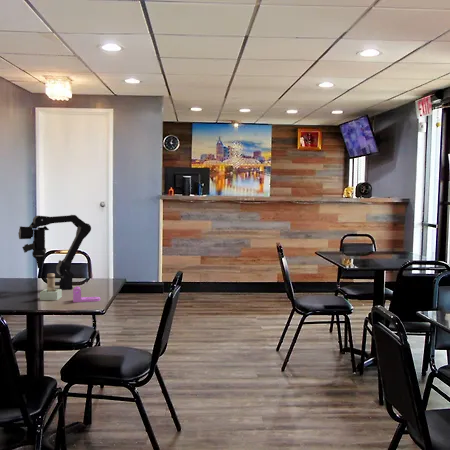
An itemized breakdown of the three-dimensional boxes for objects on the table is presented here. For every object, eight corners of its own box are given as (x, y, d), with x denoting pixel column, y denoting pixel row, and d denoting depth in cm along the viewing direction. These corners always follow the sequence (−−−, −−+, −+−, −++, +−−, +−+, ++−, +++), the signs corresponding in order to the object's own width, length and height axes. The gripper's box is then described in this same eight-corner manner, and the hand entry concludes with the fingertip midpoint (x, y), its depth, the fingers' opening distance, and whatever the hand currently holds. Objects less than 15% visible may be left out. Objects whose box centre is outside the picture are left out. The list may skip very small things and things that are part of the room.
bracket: (73, 302, 247) (73, 288, 246) (73, 300, 252) (73, 286, 252) (100, 301, 250) (100, 287, 250) (100, 299, 256) (100, 285, 255)
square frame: (45, 296, 259) (45, 289, 259) (61, 297, 260) (61, 289, 259) (39, 300, 251) (39, 292, 251) (57, 300, 251) (57, 292, 251)
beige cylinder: (53, 297, 258) (53, 273, 257) (56, 298, 255) (55, 274, 254) (46, 298, 256) (46, 273, 255) (48, 299, 253) (48, 274, 252)
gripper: (24, 237, 281) (24, 265, 282) (22, 240, 263) (22, 269, 264) (45, 237, 285) (46, 265, 285) (44, 239, 267) (44, 269, 268)
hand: (39, 267), depth 276 cm, fingers open, 9 cm apart
